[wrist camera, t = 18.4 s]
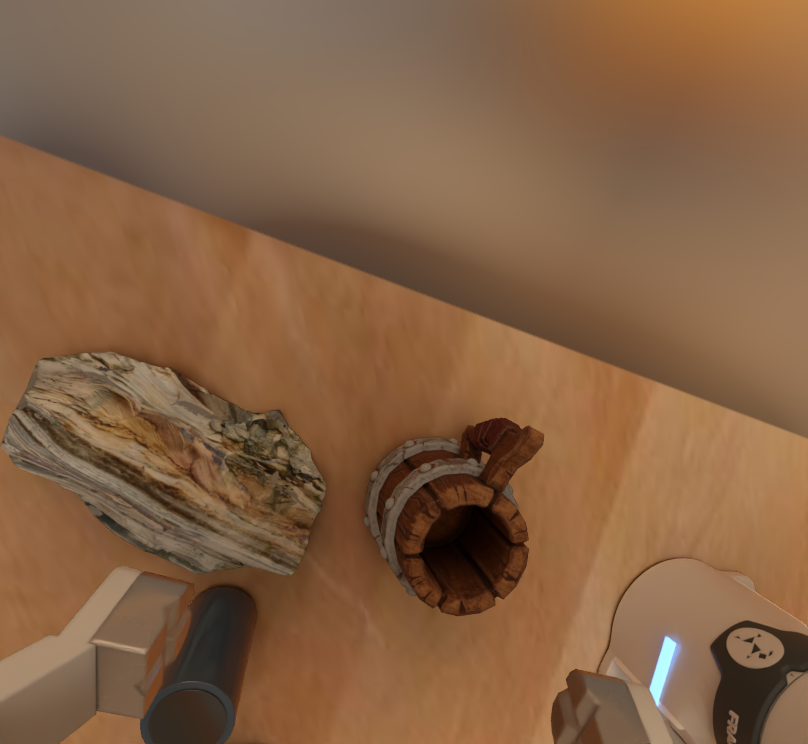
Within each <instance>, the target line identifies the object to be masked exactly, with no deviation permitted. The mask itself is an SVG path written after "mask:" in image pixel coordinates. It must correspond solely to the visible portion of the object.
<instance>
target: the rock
mask: <svg viewBox="0 0 808 744" xmlns="http://www.w3.org/2000/svg"><path fill="white" fill-rule="evenodd" d="M0 447H1V448H2V449H3V450H4V452H5V453H6V454H9V456H10V459H11V460H12V462H13V463H14V465H16V466H17V467H18V468H20V469H23V470H25V471H28V472H30V473H33V474H36V475H39V476H41V477H44V478H47V479H49V480H52V481H55V482H57V483H58V484H59V485H60V486H61V487H62V488H65V489H69V490H71V491H73V492H75V494H76V496H77V497H79V498H81V499H82V501H83V502H84V503H85V504H86V505H87V507H88V508H89V509H90V510H91V512H92V513H93V514H94V515H95V517H96V518H98V519H99V520H100V521H101V522H102V523H103V524H104V525H105V526H106V527H107V528H108V529H109V530H111V531H112V532H113V533H115V534H116V535H117V536H119V537H121V538H123V539H124V540H126V541H127V542H129V543H131V544H132V545H134V546H136V547H138V548H140V549H142V550H144V551H146V552H150V553H152V554H155V555H158V556H160V557H162V558H164V559H167V560H169V561H170V562H172V563H174V564H176V565H179V566H181V567H184V568H186V569H188V570H190V571H191V572H193V573H196V574H202V573H210V572H212V571H217V570H228V569H234V568H241V567H254V568H259V569H263V570H266V571H269V572H273V573H277V574H281V575H286V576H289V575H291V574H293V573H294V572H295V570H296V569H297V567H298V565H299V563H300V561H301V559H302V557H303V555H304V553H305V551H306V549H307V545H308V541H309V534H310V528H311V525H312V523H313V520H314V519H315V517H316V515H317V514H318V513H319V512H320V510H321V507H322V500H323V499H324V496H325V492H326V483H325V481H324V479H323V478H322V476H321V474H320V473H319V471H318V470H317V468H316V466H315V464H314V463H313V461H312V459H311V451H310V449H309V448H308V447H306V446H305V444H304V443H302V442H301V441H300V440H299V436H297V435H296V434H295V433H294V432H293V431H292V430H291V429H290V428H289V426H288V425H287V423H286V422H285V420H284V418H283V415H282V413H281V412H280V410H275V411H270V412H267V413H264V414H260V413H255V414H252V413H251V412H250V411H244V410H243V409H241V408H240V407H238V406H236V405H234V404H232V403H229V402H227V401H225V400H222V399H221V398H219V397H216V395H213V394H209V392H208V391H207V390H206V389H204V388H202V387H200V386H199V385H197V384H196V383H194V382H192V381H191V380H189V379H187V378H186V377H184V376H183V375H181V374H180V373H179V372H177V371H175V370H173V369H171V368H170V367H166V368H162V367H156V366H152V365H150V364H147V363H145V362H138V361H136V360H134V359H131V358H129V357H126V356H121V355H119V354H117V353H114V352H112V351H110V352H105V353H85V354H77V355H68V356H61V357H55V358H43V359H41V360H39V361H38V363H37V364H36V366H35V369H34V371H33V373H32V376H31V378H30V381H29V383H28V386H27V388H26V391H25V393H24V395H23V397H22V398H21V400H20V402H19V404H18V406H17V408H16V409H15V411H14V413H13V414H12V416H11V417H10V419H9V423H8V426H7V428H6V431H5V434H4V438H3V441H2V444H1V446H0Z"/></svg>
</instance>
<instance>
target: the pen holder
mask: <svg viewBox="0 0 808 744" xmlns="http://www.w3.org/2000/svg"><path fill="white" fill-rule="evenodd" d="M189 607H190V609H191V610H192V617H191V622H190V626H189V630H188V633H187V636H186V638H185V641H184V643H183V646H182V648H181V650H180V652H179V654H178V655H177V657H176V659H175V661H174V662H172V663H171V664H169V665H168V666H166V667H165V668H164V671H163V683H162V685H161V687H160V689H159V691H158V693H157V694H156V696H155V698H154V700H153V702H152V704H151V705H150V707H149V709H148V711H147V713H146V715H145V716H144V718H143V719H141V721H140V730H141V735H142V738H143V740H144V742H145V744H224V743H225V742H226V741H227V739H228V738H229V736H230V735H231V733H232V731H233V728H234V725H235V720H236V715H237V710H238V705H239V701H240V696H241V691H242V686H243V681H244V677H245V672H246V667H247V662H248V657H249V653H250V648H251V643H252V638H253V633H254V629H255V624H256V618H257V614H256V608H255V606H254V603H253V602H252V600H251V599H250V598H249V597H248V596H247V595H246V594H245V593H243V592H242V591H240V590H238V589H235V588H230V587H217V588H213V589H210V590H207V591H205V592H203V593H202V594H200V595H199V596H198V597H197V598H195V600H194V601H193V602H192V603H191V605H190V606H189Z"/></svg>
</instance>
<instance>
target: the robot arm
mask: <svg viewBox="0 0 808 744" xmlns="http://www.w3.org/2000/svg"><path fill="white" fill-rule="evenodd" d="M193 596H194V584H193V583H190V582H186V581H182V580H178V579H174V578H170V577H166V576H162V575H158V574H155V573H151V572H147V571H143V570H138V569H134V568H130V567H126V566H122V565H120V566H119V567H117V568H116V569H114V570H113V571H112V572H111V573H110V574H109V575H108V576H107V578H106V579H105V580H104V581H103V582H102V584H101V585H100V586H99V587H98V588H97V590H96V591H95V592H94V593H93V594H92V596H91V597H90V598H89V599H88V600H87V602H86V603H85V604H84V605H83V606H82V608H81V609H80V610H79V611H78V612H77V614H76V615H75V616H74V617H73V618H72V620H71V621H70V622H69V623H68V624H67V626H66V627H65V628H64V629H63V630H62V632H61V633H60V634H59V635H58V636H55V635H48V636H46V637H44V638H42V639H41V640H39V641H37V642H35V643H33V644H31V645H29V646H27V647H25V648H23V649H22V650H20V651H18V652H16V653H14V654H12V655H10V656H8V657H6V658H4V659H3V660H1V661H0V744H59V743H60V742H62V741H63V740H64V739H65V738H67V737H68V736H69V735H70V734H72V733H73V732H74V731H76V730H77V729H78V728H79V727H81V726H82V725H83V724H84V723H86V722H87V721H88V720H89V719H91V718H92V717H93V716H95V715H96V711H100V712H106V713H111V714H117V715H122V716H128V717H133V718H139V719H143V718H144V716H145V715H146V713H147V711H148V709H149V707H150V705H151V704H152V702H153V700H154V698H155V696H156V694H157V693H158V691H159V689H160V687H161V685H162V683H163V671H164V668H165V667H166V666H168V665H169V664H171V663H172V662H174V661H175V659H176V657H177V655H178V654H179V652H180V650H181V648H182V646H183V643H184V641H185V638H186V636H187V633H188V630H189V626H190V622H191V617H192V610H191V609H190V607H189V606H188V605H189V603H190V601H191V599H192V598H193ZM566 682H567V686H568V688H567V689H565V690H563V691H561V692H559V693H558V694H557V696H556V698H555V701H554V703H553V706H552V714H551V726H552V734H553V739H554V744H808V626H807V625H806V624H804V623H803V622H802V621H800V620H798V619H797V618H795V617H794V616H792V615H791V614H789V613H788V612H786V611H785V610H783V609H782V608H780V607H779V606H777V605H775V604H774V603H772V602H771V601H769V600H768V599H766V598H765V597H763V596H761V595H760V594H758V593H757V592H755V587H754V584H753V581H752V580H751V579H750V578H748V577H747V576H745V575H744V574H742V573H740V572H734V571H719V570H717V569H715V568H713V567H711V566H709V565H707V564H706V563H703V562H701V561H698V560H694V559H688V558H678V559H671V560H667V561H664V562H661V563H659V564H657V565H655V566H653V567H651V568H650V569H648V570H647V571H645V572H644V573H643V574H641V575H640V576H639V577H638V578H637V579H636V580H635V581H634V582H633V583H632V585H631V586H630V587H629V588H628V590H627V591H626V593H625V594H624V596H623V598H622V599H621V601H620V603H619V606H618V608H617V611H616V614H615V617H614V621H613V626H612V634H611V641H610V646H609V649H608V651H607V653H606V654H605V656H604V658H603V660H602V663H601V665H600V667H599V671H598V674H597V673H592V672H588V671H583V670H578V669H575V670H573V671H571V672H570V673H569V675H568V677H567V678H566Z"/></svg>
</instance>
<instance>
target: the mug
mask: <svg viewBox="0 0 808 744" xmlns="http://www.w3.org/2000/svg"><path fill="white" fill-rule="evenodd" d="M543 441H544V434H543V433H541V432H539V431H537V430H536V429H534V428H532V427H530V426H526V427H525V428H524V429H521V428H520V427H519V426H518V425H517V424H515V423H513V422H512V421H510V420H508V419H506V418H499V419H498V418H495V419H491V420H488V421H485V422H481V423H478V424H476V426H475V427H474V426H467V428H466V429H465V431H464V432H463V434H462V440H461V444H460V443H458V441H457V440H456V439H455V438H451V439H449V440H447V439H444V438H441V437H436V438H419V439H416V440H413V441H411V440H408V441H406V442H405V444H404V445H402V446H399V447H397V448H396V449H395V450H393V451H392V452H391V453H390V454H389V455H388V456H387V457H386V458H385V459H384V460H383V461H382V462H381V463H379V465H378V467H377V469H376V471H374V472H372V473H371V480H370V482H369V484H368V488H367V495H366V501H365V513H366V517H365V518H364V525H365V526H367V527H369V531H370V533H371V534H372V536H373V538H374V539H375V541H376V542H377V544H378V545H379V547H380V548H381V550H380V555H381V557H382V558H384V559H386V560H387V562H388V564H389V566H390V567H391V569H392V570H393V572H394V573H395V575H396V577H397V578H398V580H399V581H400V583H401V584H402V586H404V587H405V588H406V591H407V593H408V595H410V596H418V598H419V599H420V600H421V601H423V602H424V603H426V604H427V605H429V606H430V607H431V608H434V607H436V605H437V606H438V607H439V609H440V611H441V612H442V613H446V614H451V615H455V616H463V615H470V614H478V613H481V612H483V611H485V610H487V609H489V608H491V607H493V606H495V598H496V597H497V596H498V597H500V598H502V599H504V598H505V597H506V596H507V595H508V594H509V593H510V592H511V591H512V590H513V589H514V588H515V587H516V586H517V584H518V582H519V580H520V578H521V576H522V574H523V572H524V570H525V568H526V565H527V558H528V552H529V549H528V548H527V547H526V546H525V545H524V544H523V542H526V541H528V540H529V538H528V532H527V527H526V522H525V521H524V519H523V517H522V516H521V514H520V512H519V508H518V504H517V502H516V501H515V499H514V497H513V496H512V494H513V488H512V486H511V485H509V484H508V482H509V480H510V479H511V477H512V476H513V474H514V473H515V472H516V470H517V469H518V468H519V467H521V466H522V465H524V464H525V463H527V462H528V461H530V460H531V459H532V457H533V456H534V455H535V454H536V453H537V451H538V450H539V449H540V448H541V447H542V445H543ZM482 451H483V452H486V453H488V454H490V455H491V456H490V458H489V460H488V462H487V464H483V462H482V461H481V455H482Z"/></svg>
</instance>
